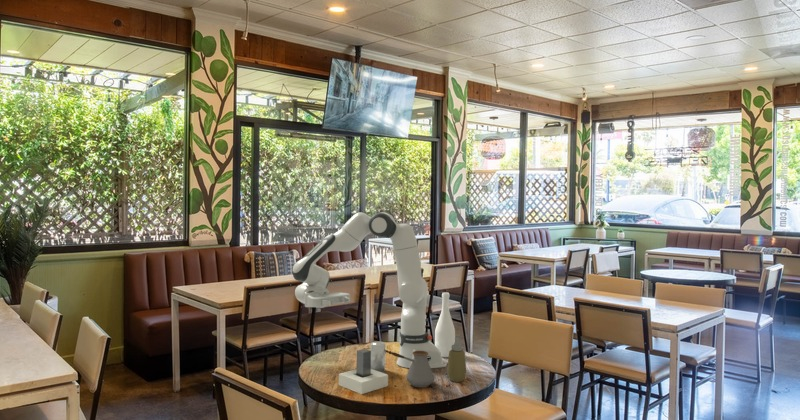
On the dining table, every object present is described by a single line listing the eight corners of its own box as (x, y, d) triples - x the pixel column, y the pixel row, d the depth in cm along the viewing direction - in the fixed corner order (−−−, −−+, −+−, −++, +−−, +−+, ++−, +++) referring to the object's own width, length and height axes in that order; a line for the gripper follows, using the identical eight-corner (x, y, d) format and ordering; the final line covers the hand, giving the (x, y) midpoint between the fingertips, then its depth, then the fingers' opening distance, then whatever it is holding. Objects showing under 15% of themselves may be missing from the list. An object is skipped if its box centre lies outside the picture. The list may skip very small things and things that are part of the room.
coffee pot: (428, 378, 235) (428, 342, 234) (438, 387, 224) (439, 350, 223) (379, 383, 228) (379, 346, 228) (387, 392, 217) (387, 354, 217)
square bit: (363, 383, 228) (364, 348, 227) (370, 385, 225) (370, 350, 225) (356, 385, 225) (356, 350, 225) (362, 387, 222) (363, 352, 222)
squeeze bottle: (443, 378, 235) (444, 335, 235) (460, 375, 239) (461, 333, 238) (452, 384, 228) (453, 340, 228) (469, 381, 231) (470, 338, 231)
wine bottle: (456, 353, 272) (458, 291, 271) (451, 358, 263) (452, 295, 263) (438, 351, 276) (439, 290, 275) (432, 356, 267) (433, 293, 266)
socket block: (365, 377, 235) (365, 366, 235) (388, 385, 225) (388, 374, 225) (338, 385, 225) (338, 373, 225) (361, 394, 215) (361, 382, 215)
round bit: (383, 368, 248) (384, 341, 247) (386, 372, 241) (386, 345, 241) (369, 368, 247) (369, 341, 246) (370, 373, 240) (371, 345, 240)
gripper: (338, 301, 259) (358, 306, 249) (301, 307, 245) (320, 312, 235) (339, 288, 259) (358, 292, 249) (301, 292, 244) (321, 297, 234)
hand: (339, 302), depth 242 cm, fingers open, 8 cm apart
